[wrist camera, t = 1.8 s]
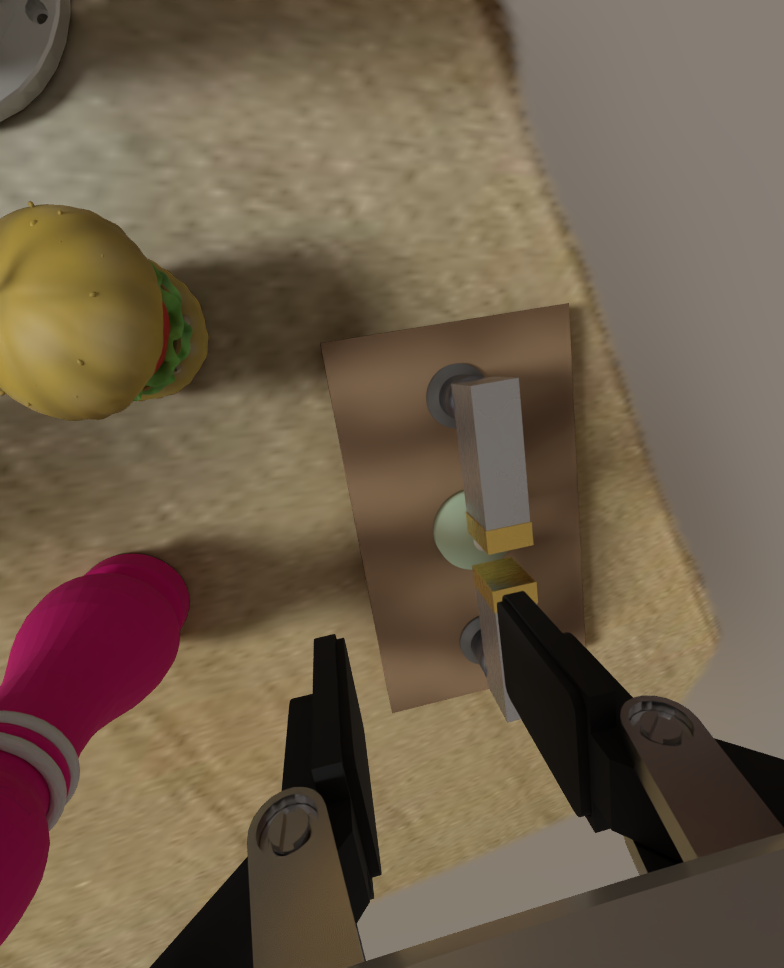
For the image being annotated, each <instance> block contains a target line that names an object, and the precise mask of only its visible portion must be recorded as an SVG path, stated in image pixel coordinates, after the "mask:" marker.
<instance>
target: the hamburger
mask: <svg viewBox="0 0 784 968" xmlns="http://www.w3.org/2000/svg"><path fill="white" fill-rule="evenodd" d="M28 205H29V207H26V208H22V209H19V210H16V211H14V212H11V213H9V214H7V215H5V216H4V217H2V218H1V219H0V389H1V391H0V395H4V394H5V393H6V394H7V395H9V396H10V397H11V398H13V399H14V400H16V401H17V402H19V403H21V404H23V405H24V406H26V407H28V408H30V409H32V410H34V411H36V412H39V413H41V414H44V415H48V416H51V417H54V418H61V419H65V420H69V421H79V420H84V419H96V420H100V419H104V418H106V417H108V416H110V415H112V414H115V413H118V412H121V411H123V410H124V409H126V408H127V407H128V406H129V405H130V404H131V403H132V401H144V400H147V399H154V398H162V397H164V396H167V395H172V394H175V393H177V392H179V391H180V390H181V389H182V388H183V387H184V386H186V385H188V384H189V383H191V381H192V379H193V377H194V376H195V374H196V373H197V372H198V371H199V370H200V368H201V366H202V363H203V362H204V360H205V359H206V357H207V354H208V346H207V343H208V340H209V335H208V333H207V330H206V325H205V318H204V315H203V314H202V310H201V306H200V304H199V302H198V300H197V299H196V297H195V296H194V295H193V294H192V293H191V292H190V291H189V289H188V287H187V286H186V285H185V284H184V283H183V282H181V281H179V280H178V279H177V278H175V277H174V276H173V275H172V274H171V273H170V272H169V271H168V270H166V269H163V268H161V267H160V266H159V265H158V264H157V263H155V262H153V261H151V260H149V259H147V258H146V257H145V256H144V255H143V253H142V252H141V250H140V249H139V248H138V246H137V245H136V244H135V243H134V242H133V241H132V240H131V239H130V238H129V237H128V236H127V235H126V234H125V232H124V231H123V230H122V229H121V228H120V227H119V226H118V225H116V224H114V223H112V222H110V221H108V220H106V219H104V218H102V217H101V216H99V215H98V214H96V213H94V212H92V211H89V210H85V209H78V208H74V207H70V206H64V205H49V204H46V205H36V206H34V204H33V202H31V201H29V202H28Z"/></svg>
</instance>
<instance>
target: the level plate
mask: <svg viewBox="0 0 784 968" xmlns="http://www.w3.org/2000/svg"><path fill="white" fill-rule="evenodd" d="M321 350H322V355H323V360H324V365H325V371H326V376H327V381H328V386H329V391H330V396H331V402H332V407H333V412H334V417H335V422H336V427H337V432H338V438H339V443H340V448H341V453H342V458H343V463H344V469H345V474H346V479H347V484H348V489H349V494H350V499H351V505H352V510H353V515H354V520H355V525H356V530H357V536H358V541H359V546H360V551H361V556H362V561H363V567H364V572H365V577H366V582H367V587H368V592H369V597H370V603H371V608H372V613H373V618H374V623H375V628H376V634H377V639H378V644H379V649H380V654H381V659H382V664H383V670H384V675H385V680H386V685H387V690H388V695H389V700H390V705H391V709H392V713H395V712H399V711H403V710H407V709H411V708H415V707H419V706H423V705H426V704H430V703H434V702H438V701H442V700H446V699H450V698H454V697H458V696H462V695H466V694H470V693H474V692H478V691H482V690H486V689H489V687H488V685H487V678H486V676H485V674H484V672H483V670H482V668H481V667H480V665H479V663H478V661H477V659H476V657H475V655H474V654H473V652H472V649H471V640H472V638H473V636H474V635H475V633H476V632H477V631H479V630H480V629H481V627H480V619H479V610H478V602H477V594H476V586H475V585H474V578H473V570H472V565H476V564H481V563H485V562H490V561H494V560H499V559H503V558H508V557H512V558H513V559H514V560H515V561H516V562H517V563H518V564H519V565H520V566H521V567H522V568H523V569H524V570H525V571H526V572H527V573H528V574H529V575H530V576H531V577H532V578H533V579H534V580H535V581H536V582H537V595H538V603H537V605H538V607H539V608H540V609H541V610H542V611H543V612H544V613H545V614H546V615H547V616H548V618H549V619H550V620H551V621H552V622H553V623H554V624H555V625H556V626H557V627H558V628H559V630H560V631H561V632H562V633H565V632H569V633H571V634H573V635H574V636H575V637H576V638H577V639H578V640H579V641H580V642H581V643H582V644H583V646H584V647H585V648H586V646H585V625H584V605H583V584H582V564H581V543H580V522H579V502H578V481H577V461H576V440H575V420H574V399H573V378H572V358H571V337H570V317H569V303H567V304H561V305H555V306H549V307H542V308H536V309H530V310H524V311H517V312H511V313H505V314H499V315H492V316H486V317H480V318H474V319H467V320H461V321H455V322H449V323H442V324H436V325H430V326H424V327H417V328H411V329H405V330H399V331H393V332H386V333H380V334H374V335H368V336H361V337H355V338H349V339H343V340H336V341H330V342H324V343H321ZM455 375H475V376H482V377H484V378H486V377H492V376H497V377H516V378H519V388H520V401H521V413H522V425H523V438H524V450H525V463H526V475H527V488H528V500H529V512H530V521H531V522H532V532H533V544H534V545H532V546H527V547H522V548H518V549H513V550H509V551H504V552H500V553H495V554H490V555H488V554H487V553H486V552H485V551H484V550H483V549H482V547H481V546H480V545H479V544H478V543H477V542H476V541H475V540H474V539H473V537H472V536H471V535H470V534H469V533H468V529H467V521H466V512H467V511H466V503H465V495H464V486H463V478H462V470H461V461H460V453H459V445H458V437H457V428H456V420H455V418H452V417H450V416H448V415H447V414H446V413H445V412H444V411H443V410H442V408H441V406H440V403H439V392H440V389H441V387H442V385H443V384H444V382H445V381H446V380H448V379H449V378H450V377H452V376H455Z"/></svg>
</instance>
